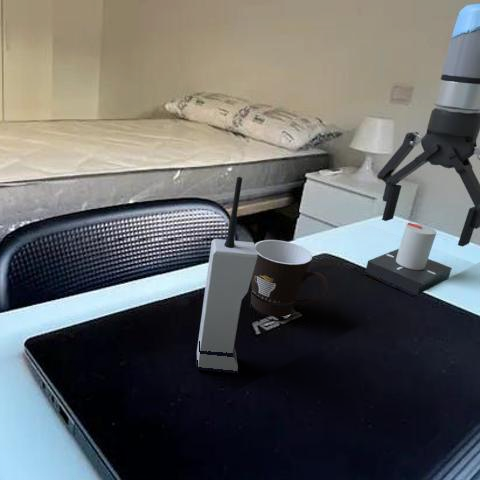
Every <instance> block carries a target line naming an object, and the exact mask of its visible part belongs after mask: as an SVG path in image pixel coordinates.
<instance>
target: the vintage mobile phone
mask: <svg viewBox="0 0 480 480" xmlns="http://www.w3.org/2000/svg"><path fill="white" fill-rule="evenodd" d="M242 183H243V177H241V176H237V177H236V180H235V189H234V195H233V201H232V208H231V214H230V217H229V222H228V228H227V234H226V239H222V238H221V239H220V238H214V239H212V240H211V243H210V244H211V245H210V249H209V250H210V252H209V258H208V266H207V272H206V280H205V287H204V294H203V295H204V296H203V303H202V310H201V316H200V317H201V318H200V325H199V333H198V340H197V347H196V361H197V360H198V367H202V368H213V369H223V370H233V371H237V372H238V369H239V366H238V360H237V359H238V357H237V352H236V349H235V343H236V342H235V341H236V336H237V330H238V323H239V318H240V312H241V307H242V300H243V299H244V297H245V296H246V295H247V294H248V293H249V288H250V285H251V283H252V275H253V271H254V268H255V264H256V260H257V257H258V254H257V251H256V248H255V242H251V241H243V240H235V236H236V230H237V223H238V210H239V203H240V197H241V189H242V185H243V184H242ZM199 341H200V351H207V352H208V351H211V352H223V353H226V352H227V353H233V356H234V357H227V356H217V355H207V354H200V352H199Z"/></svg>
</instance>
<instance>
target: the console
mask: <svg viewBox="0 0 480 480" xmlns="http://www.w3.org/2000/svg"><path fill="white" fill-rule="evenodd" d="M398 251H399V248H397V249H393V250H392V251H389V252H386V253H384V254H381V255H379V256H376V257H374V258H371V259H369V260H367V263H366V267H365V271H364V273H365V272H368V273H370V274H372V275H374V276H377V277H379V278H381V279H383V280H386V281H388V282H390V283H393V284H395V285H397V286H399V287H402V288H404V289H406V290H408V291H411V292H413V293H415V294H417V296H418V294H419V295H421V294H422V293H424V292H426V291H429V290H430V289H432V288H433V287H435V286H438V285H440V284H442V283H443V282H445V281H447V280H449V278H450V274H451V272H452V269H453V267H450V266H448V265H445V264H443V263H441V262H437V261H436V260H433V259H430V258H428V260H427V263H426V266H425V268H424V269H423V270H414V269H409V268H406V267H403V266H401V265H399V264H398V263H397V262H396V257H397V254H398Z"/></svg>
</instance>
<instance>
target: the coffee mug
mask: <svg viewBox="0 0 480 480" xmlns="http://www.w3.org/2000/svg"><path fill="white" fill-rule="evenodd" d="M254 245H255V248H256V251H257V254H258V257H257V260H256V264H255V268H254V271H253V275H252V278H251V289H252V291H251V290H250V305H251V304H252V306H253V307H254V308H255V309H256V310H258V311H259V312H261V313H264V314H267V315H271V316H286V315H289V314H291V313H292V314H293V312H292V311H294V308H295V306H296V305H297V304H295V303H293V304H291V305H286V306H278V305H272V304H268V303H265V302H262V301H261V300H259V299H257V298H256V297H255V296H254V295H253V294H252V292H253V293H254V294H255V295H256V296H258V297H260V298H261V299H263V300H266V301H268V302H273V303H280V304H282V303H290V302H293V301H296V302H299V304H305V303H311V302H316V301H318V300H321V299H323V298H324V297H326V296H327V295H328V294H329V292H330V282H329V280H328V278H327V277H326V276H325V275H323V274H322V273H320V272H317V271H309V267H310V265H311V262H312V259H313V254H312V253H311V252H310V251H309V250H308V249H307V248H305V247H304V246H301V245H299V244H296V243H293V242H290V241H286V240H278V239H265V240H260V241H258V242H255V243H254ZM310 277H317V278H318V279H320V280H321V281H322V282H323V284H324V291H323V293H321V294H320V295H317V296H314V297H308V298H307V297H306V298H300V299H298V297H299V295H300V292H301V289H302V287H303V284H304V282H305V281H307V279H308V278H310ZM296 299H297V300H296ZM292 314H291V315H292Z"/></svg>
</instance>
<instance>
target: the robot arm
mask: <svg viewBox="0 0 480 480" xmlns="http://www.w3.org/2000/svg"><path fill="white" fill-rule="evenodd" d="M433 104H434V106H436V107H435V108H433V109H431V112H430V117H429V120H428V122H427V127H426V132H425V134H424V135H422V134H419V132H418V131H412V132H407V133H406V134H405V136H404V139H403V141H402V143H401V145H400V146H399V147H398V149H397V150H396V151H395V152H394V154H393V155H392V156H391V157H390V159H389V160H388V161H387V162H386V164H385V165H384V166H383V167H382V168H381V170H380V171H378V173H377V175H376V177H377V179H378V180H381V181H383V182H384V183H385V188H384V192H383V195H382V202H385V207H384V210H383V214H382V218H381V220H382V221H384V222H387V221H390V220H393V219H394V218H395V217H394V216H395V212H396V208H397V205H398V201H399V198H400V193H401V190H402V185H401V184H400V182H401V181H403V180H404V179H406V177H408V176H409V175H411V174H412V173H414V172H415V171H417V170H418V169H420V168H421V167H422V166H424V165H425V164H427V163H430V165H433V166H441V167H443V168H446V169H454V170H455V172H456V173H457V174H458V175H459V177H460V179H461V182H462V183H463V186H464V187H465V189H466V191H467V193H468V196H469V198H470V199H471V201H472V204H473V206H472V207H470V208H469V209H468V212H467V214H466V217H465V221H464V223H463V226H462V230H461V233H460V236H459V240H458V243H457V246H460V247H465V246H467V245H469V244H470V242H471V239H472V236H473V232H474V230H477V229H480V182H479V180H478V177H477V176H476V174H475V171H474V169H473V164H472V162H471V161H470V158H471V157H472V156H474V155H476V156H477V160H478V161H480V146H478V145H477V139H478V138H479V137H478V136H479V134H480V3H474V4H467V5H465V6H464V7H463V8H462V9H461V10H460V11H459V13H458V16H457V18H456V22H455V25H454V28H453V31H452V34H451V36H450V41H449V45H448V49H447V52H446V56H445V60H444V64H443V68H442V72H441V76H440V80H439V84H438V86H437V90H436V93H435V97H434V101H433ZM419 144H420V145H421V147H422V149H423V151H422V153H420V154H419V155H417V156H415V158H414V159H413V160H412V161H410V162H408V163H407V164H406V165H404V166H403V167H402V168H401V169H399V170H398V171H396V170H397V169H398V167H400V165H401V164H402V162H403V161H404V160H405V159H406V158H407V156H408V155H409V154H410V153H411V151H413V150H414V148H415V147H417V146H419ZM395 171H396V172H395ZM394 172H395V173H394Z"/></svg>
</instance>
